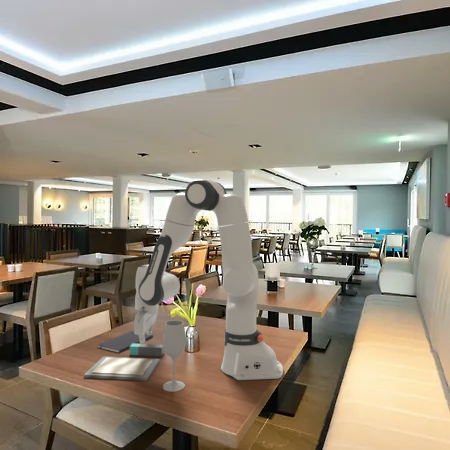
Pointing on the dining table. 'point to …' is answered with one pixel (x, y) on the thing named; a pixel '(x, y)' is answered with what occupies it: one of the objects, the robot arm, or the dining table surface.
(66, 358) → the dining table surface
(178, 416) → the dining table surface
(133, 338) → the notebook
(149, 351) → the marker
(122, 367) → the notepad
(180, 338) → the wineglass
